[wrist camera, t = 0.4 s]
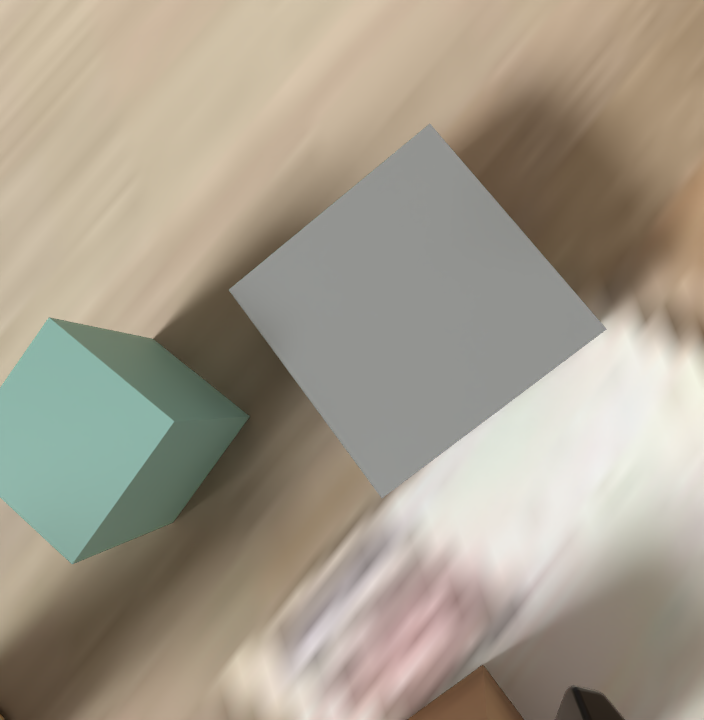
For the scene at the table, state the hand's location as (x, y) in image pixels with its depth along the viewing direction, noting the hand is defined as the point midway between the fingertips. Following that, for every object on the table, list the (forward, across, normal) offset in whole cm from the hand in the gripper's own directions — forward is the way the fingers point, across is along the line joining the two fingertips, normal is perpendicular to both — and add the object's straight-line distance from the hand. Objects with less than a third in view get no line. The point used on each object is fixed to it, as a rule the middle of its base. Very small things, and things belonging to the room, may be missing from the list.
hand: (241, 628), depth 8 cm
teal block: (+13, +7, +4) cm, 16 cm away
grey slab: (+15, -2, -1) cm, 15 cm away
